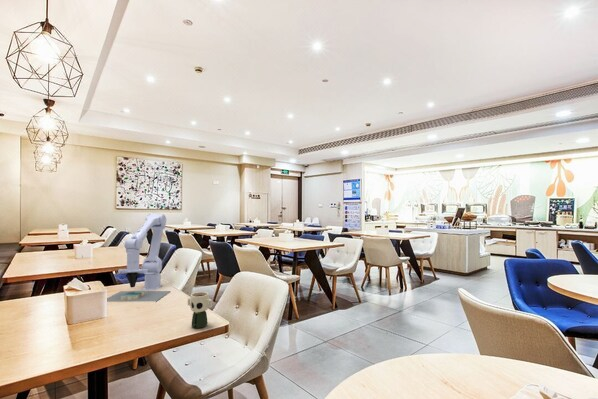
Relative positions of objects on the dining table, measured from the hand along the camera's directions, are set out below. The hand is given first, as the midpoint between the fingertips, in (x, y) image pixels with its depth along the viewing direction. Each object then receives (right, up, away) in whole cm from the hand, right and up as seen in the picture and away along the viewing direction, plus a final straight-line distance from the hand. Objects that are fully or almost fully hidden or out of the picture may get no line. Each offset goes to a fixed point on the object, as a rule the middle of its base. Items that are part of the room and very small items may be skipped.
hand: (132, 286), depth 157 cm
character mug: (+48, -6, -36) cm, 60 cm away
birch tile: (-4, -5, 0) cm, 6 cm away
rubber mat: (+1, -6, +2) cm, 6 cm away
